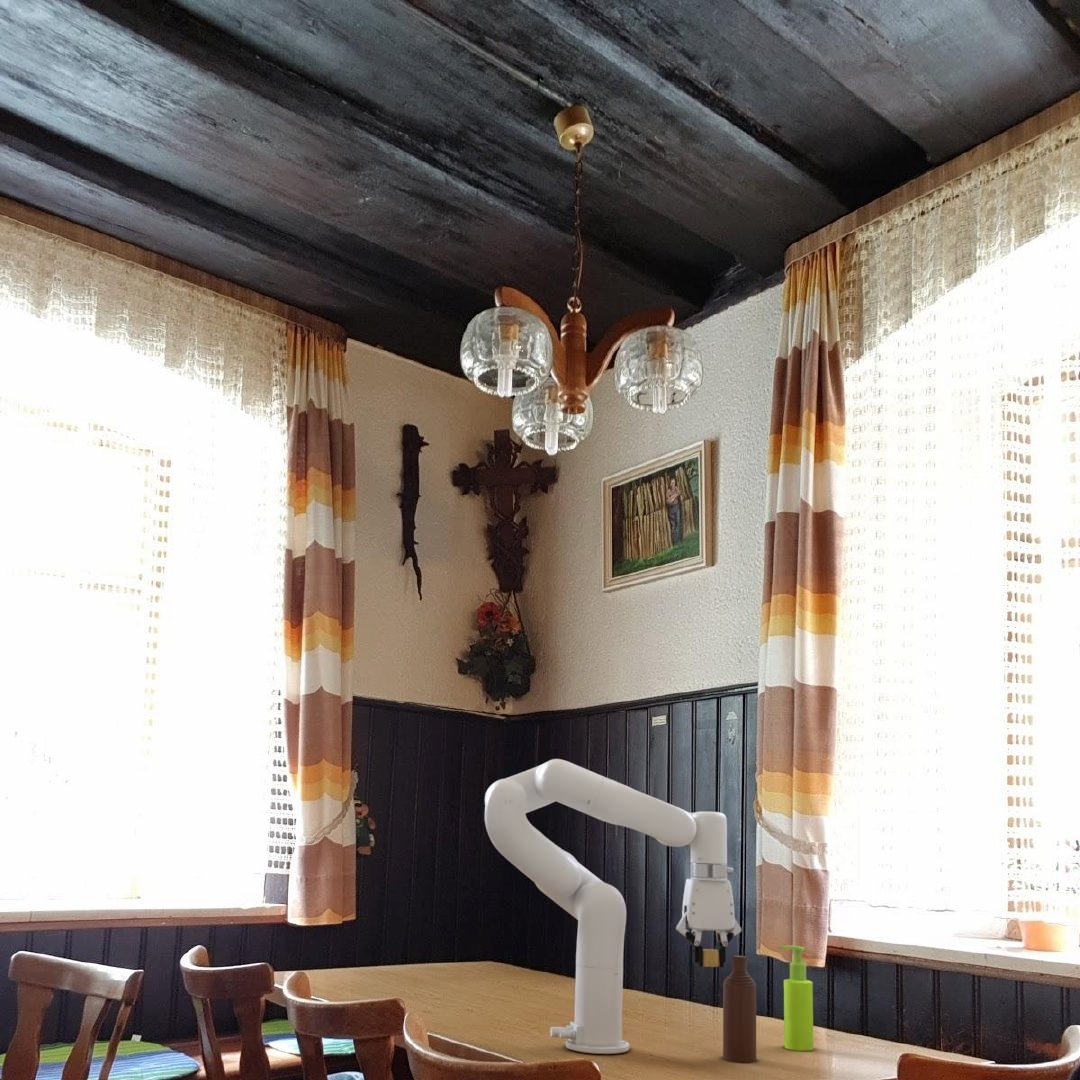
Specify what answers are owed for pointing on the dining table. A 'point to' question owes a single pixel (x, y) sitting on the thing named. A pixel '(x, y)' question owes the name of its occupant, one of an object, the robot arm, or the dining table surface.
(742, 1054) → the bottle
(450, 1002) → the dining table surface
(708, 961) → the cap
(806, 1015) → the soap dispenser
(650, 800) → the robot arm
